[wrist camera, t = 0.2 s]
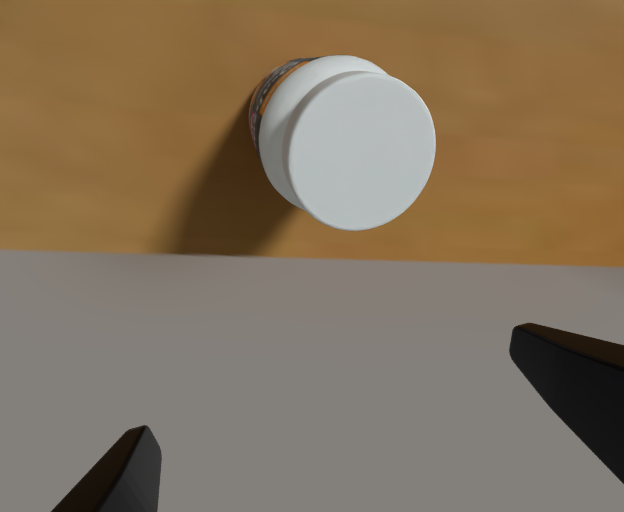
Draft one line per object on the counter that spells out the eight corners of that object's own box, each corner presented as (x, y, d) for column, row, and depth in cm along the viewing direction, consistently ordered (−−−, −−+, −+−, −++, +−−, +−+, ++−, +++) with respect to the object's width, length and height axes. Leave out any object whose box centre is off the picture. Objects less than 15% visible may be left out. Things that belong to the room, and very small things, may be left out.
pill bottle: (254, 47, 18) (284, 22, 9) (364, 72, 19) (481, 73, 10) (242, 165, 20) (255, 237, 11) (340, 179, 21) (420, 252, 13)
